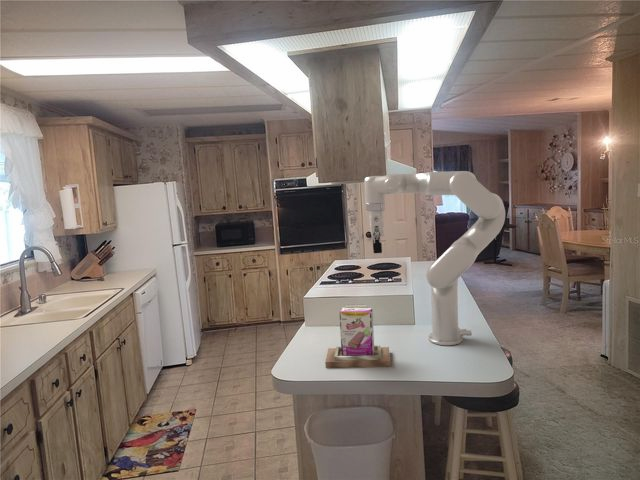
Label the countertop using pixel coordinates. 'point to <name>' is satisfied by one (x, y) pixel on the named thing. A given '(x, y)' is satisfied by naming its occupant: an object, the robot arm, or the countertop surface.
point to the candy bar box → (357, 331)
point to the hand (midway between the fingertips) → (377, 250)
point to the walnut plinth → (358, 358)
